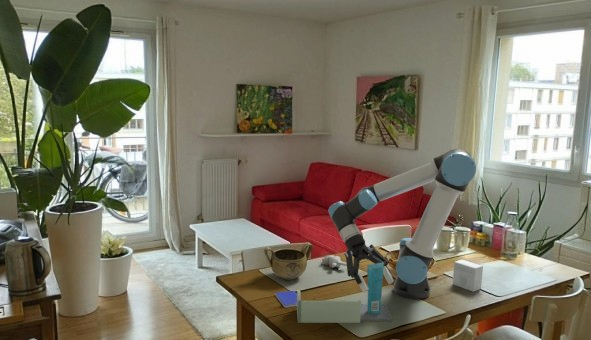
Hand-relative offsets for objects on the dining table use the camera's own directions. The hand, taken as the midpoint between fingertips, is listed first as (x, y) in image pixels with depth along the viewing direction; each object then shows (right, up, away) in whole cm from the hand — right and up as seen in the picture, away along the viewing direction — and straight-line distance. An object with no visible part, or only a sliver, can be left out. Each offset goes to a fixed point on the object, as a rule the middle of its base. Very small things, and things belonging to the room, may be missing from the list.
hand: (379, 286), depth 176 cm
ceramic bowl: (-34, -5, +38) cm, 52 cm away
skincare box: (+44, -7, +30) cm, 54 cm away
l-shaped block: (-19, -11, +1) cm, 22 cm away
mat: (-1, -11, +3) cm, 12 cm away
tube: (-1, -10, +3) cm, 11 cm away
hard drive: (-34, -9, +14) cm, 38 cm away
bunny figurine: (-13, -3, +53) cm, 54 cm away
